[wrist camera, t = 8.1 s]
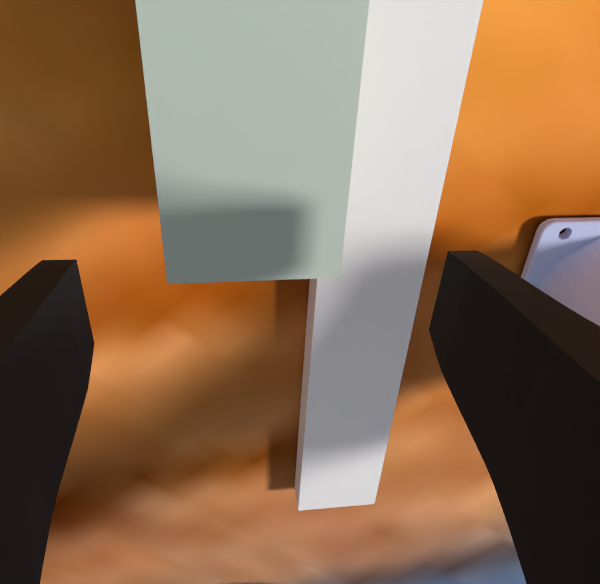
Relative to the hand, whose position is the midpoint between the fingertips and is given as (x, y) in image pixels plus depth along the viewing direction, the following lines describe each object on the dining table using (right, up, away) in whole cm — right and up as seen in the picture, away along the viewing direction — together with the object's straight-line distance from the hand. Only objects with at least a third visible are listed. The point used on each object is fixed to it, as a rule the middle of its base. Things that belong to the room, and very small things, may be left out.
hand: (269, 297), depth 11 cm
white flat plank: (+3, +1, +11) cm, 11 cm away
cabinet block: (-1, +7, +6) cm, 9 cm away
